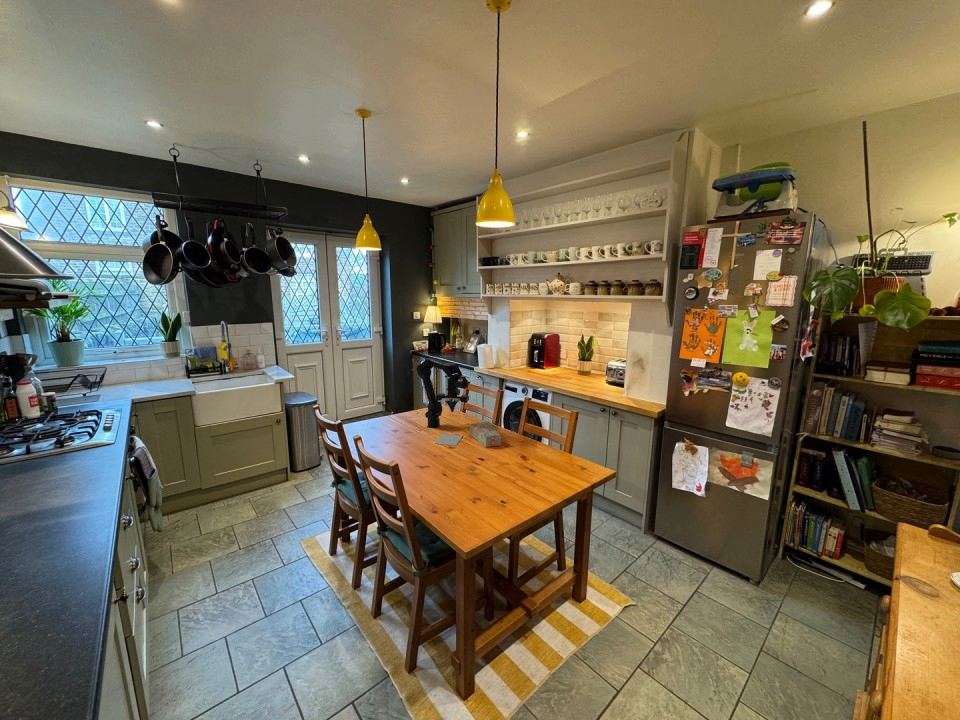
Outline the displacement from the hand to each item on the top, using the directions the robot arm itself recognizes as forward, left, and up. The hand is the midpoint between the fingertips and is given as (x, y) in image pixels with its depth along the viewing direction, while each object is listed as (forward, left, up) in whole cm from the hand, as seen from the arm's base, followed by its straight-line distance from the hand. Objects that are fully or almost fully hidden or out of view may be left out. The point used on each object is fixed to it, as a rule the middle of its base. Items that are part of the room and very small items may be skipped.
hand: (452, 411), depth 223 cm
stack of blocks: (+16, -7, -10) cm, 20 cm away
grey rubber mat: (+1, -10, -13) cm, 16 cm away
